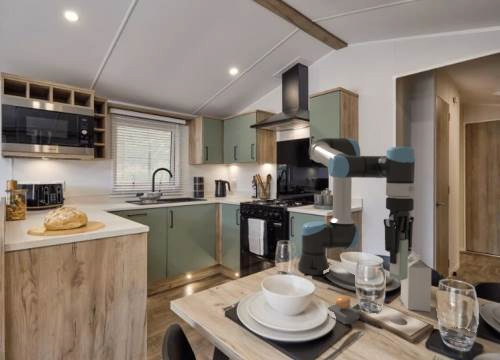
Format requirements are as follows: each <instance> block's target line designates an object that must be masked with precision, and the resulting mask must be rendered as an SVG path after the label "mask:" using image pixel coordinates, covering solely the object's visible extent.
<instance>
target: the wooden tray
mask: <svg viewBox="0 0 500 360" xmlns="http://www.w3.org/2000/svg"><path fill="white" fill-rule="evenodd" d="M360 309H361V308H360ZM360 309H357V310H358V311H359V315H360V316H362V317H364V318H366V319H368V320H369V321H368V320H367V321H368V322H370V321H371V322H370V323H372V324H374V325H375V324H376V326H377V325H378V326H377V327H379V326H380V328H381V329H384V330H385V331H387V332H389V333H391V334H393V335H395V336H398V337H400V338H401V339H403V340H405V341H406V342H409V343H411V344H413V343H414V342H416V341H417V340H419V339H420V338H422V337H423V336H425V335H426V334H428V333H430V332H431V331H432V330H434V325H433V324H431V323H430V322H426V321H425V320H422V319H420V318H417V317H415V316H413V315H411V314H408V313H407V312H404V311H401V310H399V309H397V308H395V307H392V306H389V305H387V304H385V303H383V308H382V310H381V312H380V313H379V314H376V313H368V312H362V311H361V310H360ZM360 316H359V317H360ZM362 317H361V318H362ZM364 318H363V319H364ZM366 319H365V320H366Z"/></svg>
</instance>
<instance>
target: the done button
mask: <svg viewBox="0 0 500 360" xmlns="http://www.w3.org/2000/svg"><path fill="white" fill-rule="evenodd" d="M335 305H337V306H338V307H341V308H349V307H351V298H349V297H348V296H347V295H337V296H335Z"/></svg>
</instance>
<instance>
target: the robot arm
mask: <svg viewBox="0 0 500 360" xmlns="http://www.w3.org/2000/svg"><path fill="white" fill-rule="evenodd" d="M308 155H309V157H310V159H311V160H312V161H314V162H315V163H320V164H322V165H324V166H325V167H327V172H328V174H329V176H330V177H332V216H331V218H330V219H329V224H327V223H326V221H318V220H316V221H309V222H306V223H303V225H302V227H301V254H300V258H299V261H298V263H297V270H298V271H299V272H301V273H303V274H306V275H310V276H323V275H322V274H323V271H324V270H326V269H328V268H329V267H330V265H329V262H328V258H327V250H336V249H337V250H348V249H349V250H350V249H355V248H356V246H357V245H358V244H359V242H360V241H359V240H360V231H359V230H360V229H359V226H357V225H356V224H355V221H354V220H353V218H352V183H353V182H352V180H353V179H352V178H359V179H360V178H371V179H373V178H374V179H385V178H386V180H385V183H386V184H385V196H386V198H385V208H386V209H387V210H389V215H388V218H384V219H383V226H384V250H385V251H386V252H389V274H390V273H393V274H396V275H400V253H398V250H399V242H400V233H401V232H403V233H405V239H408V252H412V247H413V233H414V232H413V227H414V226H413V225H414V221H415V217H414V216H410V212H411V211H412V212H413V210H414V209H415V208H414V207H415V206H414V204H415V203H414V202H415V199H414V198H412V197H414V196H415V190H416V187H415V167H416V166H415V164H416V163H415V162H416V158H415V149H414V147H411V146H394V147H389V148H387V150H386V154H385V155H361V148H360V145H359V142H358V141H357V140H356V139H354V138H348V137H344V138H343V137H342V138H341V137H339V138H338V137H337V138H336V137H329V138H328V137H323V138H319V139H317V140H315V141H313V142H312V143H311V145H310V146H309V148H308Z"/></svg>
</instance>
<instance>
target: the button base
mask: <svg viewBox="0 0 500 360" xmlns="http://www.w3.org/2000/svg"><path fill="white" fill-rule="evenodd" d="M327 308H328V309H329V310H330V311H332V312H334V314H335V316H336V319H337V320H338V321H340V322H342V323H344V324H347V325H349V324H351V323H353V322H355V321H358V320H359V319H360V316H359V311H358V310H359V309H355V308H354V307H352V306H350V307H349V308H341V307H338V306H337V305H336V304H333V305H331V306H327ZM337 320H336V321H337ZM338 321H337V322H338ZM340 322H339V323H340ZM342 323H341V324H342ZM344 324H343V325H344Z"/></svg>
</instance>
